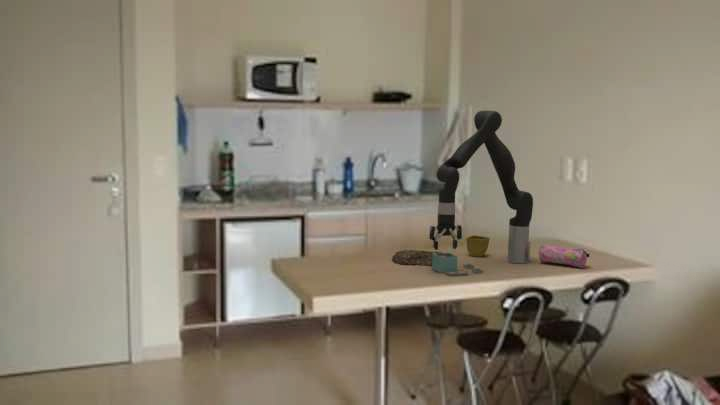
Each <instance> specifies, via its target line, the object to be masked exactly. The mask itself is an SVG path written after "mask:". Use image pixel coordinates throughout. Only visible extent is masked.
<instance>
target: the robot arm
mask: <svg viewBox="0 0 720 405" xmlns="http://www.w3.org/2000/svg"><path fill="white" fill-rule="evenodd" d="M473 121H474V126H475V128H476V132H475V133H474V134H473V135H472V136H470V137H469V138H468V139H466V140H465V141H464V142H462V143H461V144H460V145H459V146H458V147H457V149H456V150H455V151H454V153H453V154H452V155H451V157H449V158H448V159H447V160H445V161H444V162H443V163H442V164H441V165H440V166H439V167H438V169H437V171H436V179H437V180H438V182H440V183H444V187H443V188H441V189H440V190H439V192H438V205H437V225H435V226H434V225H430V228H429V238H428V239H429V240H431V241H432V242H433V244H432V245H433V248H434V250H435V251H437V250H439V240H440V239H441V238H442V237H445V236H447V237H450V236H451V238H452V239H453V240H452V249H453V250H456V249H457V247H458V240H462V239H463V238H462V237H463V236H462V235H463V233H462V232H463V231H462V226H461V225H460V224H457V225H455V223H456V192H457V188H458V185H459V181H460V172H459V169H462V168H464V167H465V166H466V165H467V164H468V162H469V161H470V160H471V159H472V157H473V156H474V154H475V153H476V152H477V151H478V150H479V149H480V147H481V146H482V145H484V147H485V148H486V150H487V152H488V155H489V157H490V160H491V164H492V165H493V168H494V170H495V172H496V174H497V177H498V179H499V180H498V181H500V184H501V189H502V190H503V194H504V198H505V202H506V204H507V206H508V207H509V208H510V209H511V210H515V216H514V217H511V218H509V223H508V242H507V245H508V246H507V262H508V263H512V264H528V263H530V258H531V256H530V255H531V242H530V223H531V220H532V217H533V209H534V208H533V207H534V198H533V195H532V194H531V192H528V191H523V190H520V189H519V188H518V186H517V183H516V180H515V173H516V162H515V159H514V157H513V156H512V153H511V151H510V150H509V148H508V147H507V146H506V145H505V144H504V142H503V141H501V139H500V138H499V136H498V135H497V133H496V132H497V131H498V130H499V129H500V127H501V126H502V124H503V123H502V122H503V119H502V115H501V114H500V113H499V112H498V111H495V110H479V111H478V112H476V114H475V115H474V118H473ZM455 230H456V233H455V232H454V231H455ZM436 231H437V232H436ZM435 232H436V234H435Z"/></svg>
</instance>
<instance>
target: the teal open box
mask: <svg viewBox="0 0 720 405" xmlns="http://www.w3.org/2000/svg"><path fill="white" fill-rule="evenodd" d="M440 256H446V257H440ZM431 270H433V271H434V272H437V274H445V272H450V271H458V255H455V254H453V253H451V252H442V253H433V260H432V268H431Z"/></svg>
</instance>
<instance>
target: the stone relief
mask: <svg viewBox="0 0 720 405" xmlns="http://www.w3.org/2000/svg"><path fill="white" fill-rule="evenodd" d="M433 253H443V252H441V251H428V250H416V249H402V250H400V251H396V252H395V254H394V255H393V256H392V259H391V260H392V262H393V264H397V265H399V264H400V266H401V265H402V266H409V265H411V267H412V265H413V266H415V265H418V267H419V266H420V267H421V266H422V267H423V266H424V267H432V260H433Z"/></svg>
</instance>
